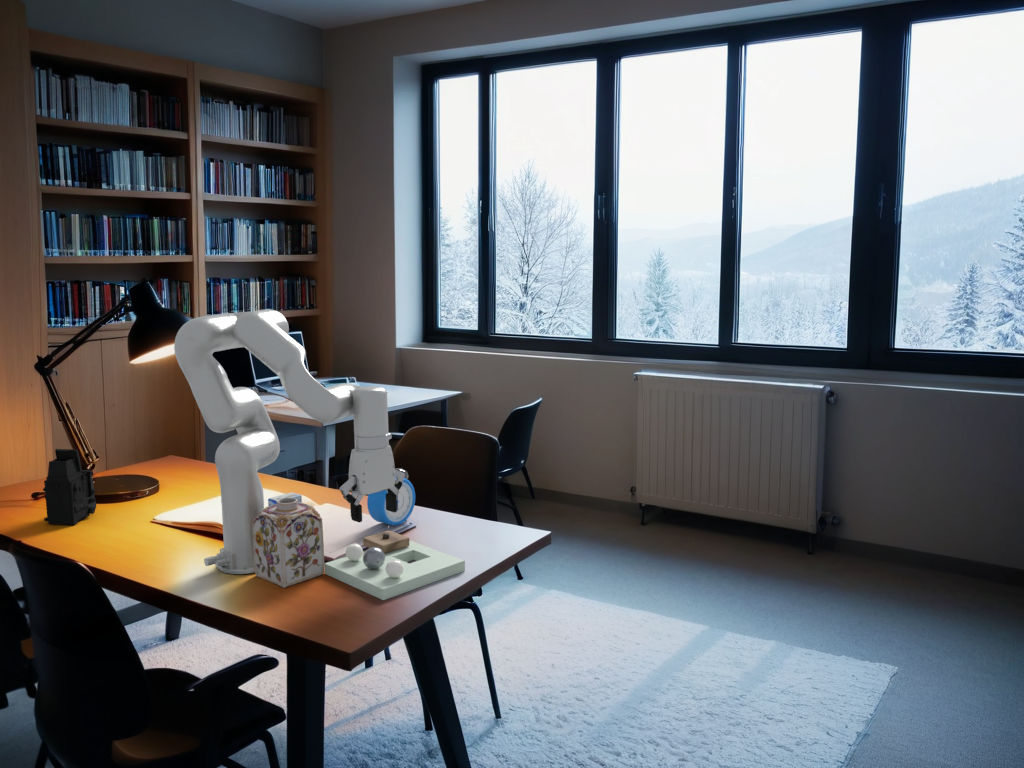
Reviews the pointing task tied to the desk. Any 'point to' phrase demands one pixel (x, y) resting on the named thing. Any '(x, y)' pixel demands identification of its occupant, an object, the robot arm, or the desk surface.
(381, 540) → the lid
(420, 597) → the desk surface
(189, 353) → the robot arm
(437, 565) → the board
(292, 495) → the medicine box
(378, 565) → the ball
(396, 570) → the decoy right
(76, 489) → the camera
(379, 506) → the alarm clock
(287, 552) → the decorative jar
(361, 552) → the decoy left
